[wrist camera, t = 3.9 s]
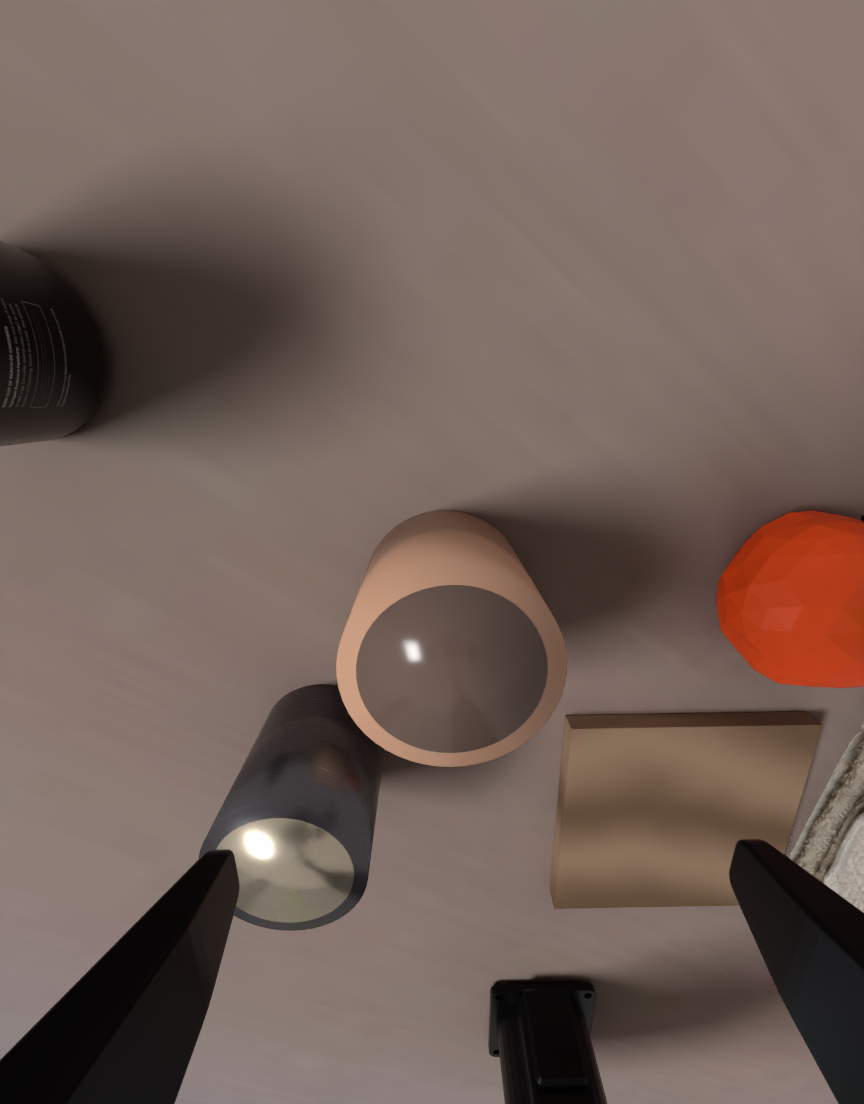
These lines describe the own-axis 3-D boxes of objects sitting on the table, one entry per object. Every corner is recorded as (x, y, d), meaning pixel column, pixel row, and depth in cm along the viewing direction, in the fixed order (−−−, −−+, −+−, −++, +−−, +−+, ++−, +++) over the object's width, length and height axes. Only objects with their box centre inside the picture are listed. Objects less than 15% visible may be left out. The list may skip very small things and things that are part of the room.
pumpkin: (700, 500, 20) (828, 515, 14) (875, 514, 20) (1080, 535, 14) (672, 654, 21) (777, 732, 15) (837, 664, 22) (1010, 746, 15)
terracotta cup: (518, 654, 22) (559, 766, 15) (370, 656, 22) (344, 769, 15) (525, 509, 19) (576, 563, 13) (361, 511, 19) (326, 567, 13)
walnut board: (757, 886, 26) (769, 904, 25) (549, 890, 26) (554, 908, 25) (806, 711, 23) (822, 724, 22) (565, 715, 23) (571, 729, 22)
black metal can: (388, 782, 24) (372, 930, 17) (273, 784, 24) (212, 933, 17) (382, 683, 22) (362, 805, 15) (258, 685, 22) (184, 808, 15)
